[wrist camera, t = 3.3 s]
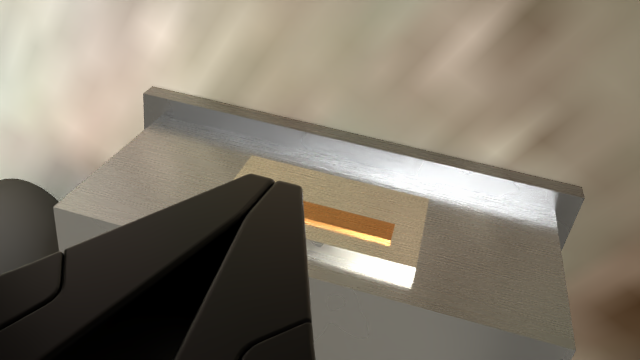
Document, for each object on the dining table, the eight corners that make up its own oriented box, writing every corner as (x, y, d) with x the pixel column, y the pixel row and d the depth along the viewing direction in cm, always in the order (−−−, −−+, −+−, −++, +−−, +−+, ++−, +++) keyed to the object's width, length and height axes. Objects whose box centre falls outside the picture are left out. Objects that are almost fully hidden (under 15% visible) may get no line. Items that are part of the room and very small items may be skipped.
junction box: (506, 362, 21) (509, 531, 16) (156, 263, 23) (59, 386, 18) (582, 187, 17) (617, 338, 12) (152, 86, 19) (27, 179, 14)
